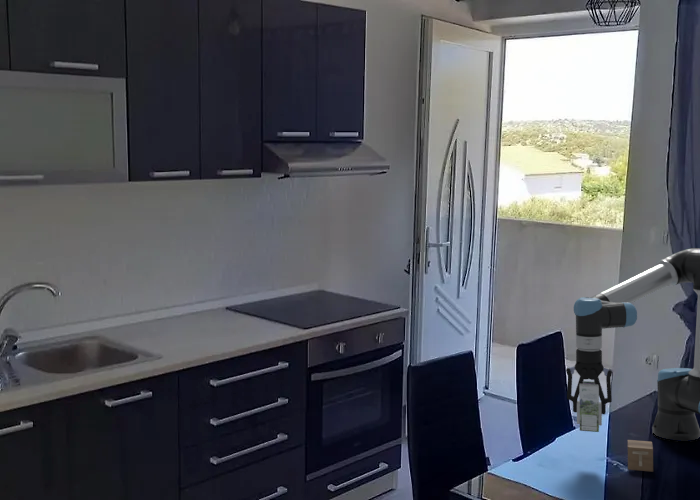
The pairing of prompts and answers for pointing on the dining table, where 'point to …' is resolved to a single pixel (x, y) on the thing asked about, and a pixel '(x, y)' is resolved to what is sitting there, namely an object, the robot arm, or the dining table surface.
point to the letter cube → (640, 455)
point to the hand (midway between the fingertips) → (589, 423)
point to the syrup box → (589, 406)
